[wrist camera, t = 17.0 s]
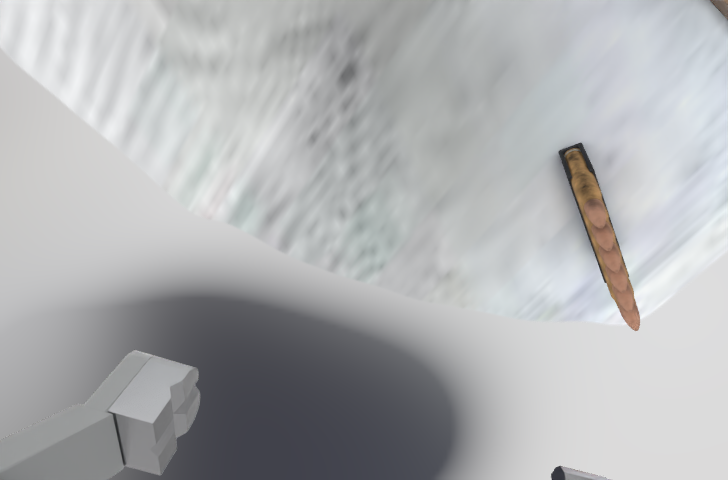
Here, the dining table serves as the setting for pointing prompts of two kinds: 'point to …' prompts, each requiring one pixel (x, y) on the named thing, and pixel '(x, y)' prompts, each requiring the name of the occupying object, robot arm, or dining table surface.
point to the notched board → (721, 6)
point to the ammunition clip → (600, 230)
